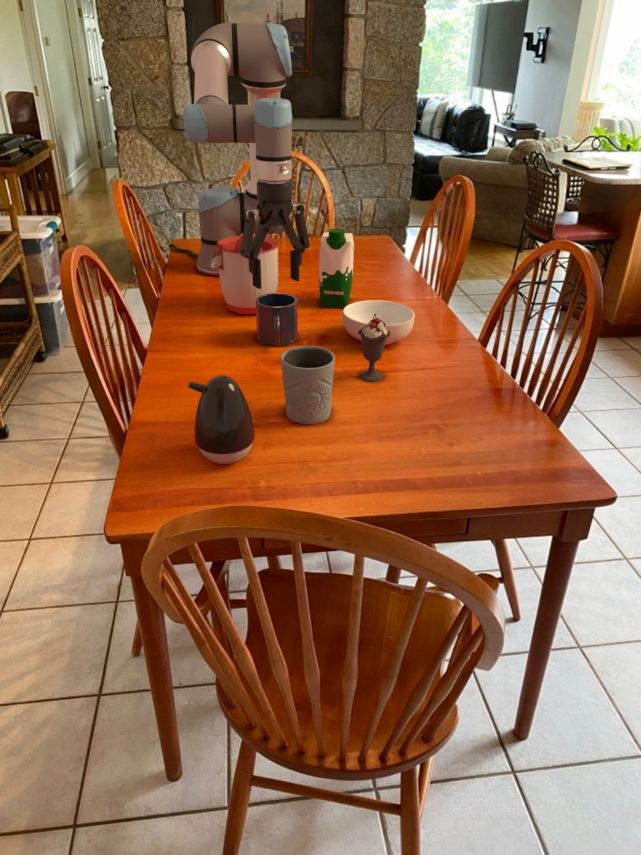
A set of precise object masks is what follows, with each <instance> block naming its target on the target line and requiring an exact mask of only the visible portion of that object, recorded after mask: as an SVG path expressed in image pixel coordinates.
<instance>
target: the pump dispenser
mask: <svg viewBox="0 0 641 855" xmlns="http://www.w3.org/2000/svg"><path fill="white" fill-rule="evenodd" d="M187 385H188V388H189V389H191V390H193V391H196V392H199V393H200V397H199V400H198V403H197V406H196V410H195V416H194V417H195V418H194V428H193V429H194V430H193V432H194V433H193V436H194V442H195V445H196V446H197V447H198V450H199V452H201V454H202V456H203V457H205V458H206V459H207V460H208V461H210V462H212V463H214V464H219V465H220V464H221V465H223V464H224V465H227V464H233V463H236V462H238V461H240V460H242V459H243V458H245V457H246V456H247V454H248V453H249V452H250V450H251V448H252V446H253V443H254V441H255V438H256V432H255V430H256V429H255V425H254V420H253V415H252V411H251V408H250V405H249V403H248V400H247V398H246V396H245V394H244V392H243V390H242V389H241V387H240V385H239V384H238V383H237V382H236V381H235V380H234V378H232V377H230V376H228V375H224V374H220V375H215V376H213V377H211V378H210V379H209V380H208V381H207V383H206V384H202V383H198V382H194V381H189V383H188V384H187Z"/></svg>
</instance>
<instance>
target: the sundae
mask: <svg viewBox="0 0 641 855" xmlns="http://www.w3.org/2000/svg"><path fill="white" fill-rule="evenodd" d="M374 316H376V313H375V314H374ZM373 318H374V317H373ZM358 334H359V335H361V340H362V341H361V340H360V341H361V349H362V350H361V351H362V357H363V358H364V359H365V360H366V361H368V369H367V370H364V371H361V372H360V374H359V377H360V379H362V380H364V381H366V382H377V381H380V380H382V379H383V377H384V376H383V373H381V372H380V371H377V370H376V368H375V365H376V362H377V361H379V360H381V359H382V357H383V353H384V350H385V346H386V345H385V341H386V338H388V337H390V332H389V330H388V329H386V328H385V323H384V322H383V321H381V320H380V319H379V318H376V317H375V319H372V320H371V321H370V322H369V323H368V325H367V326H366V327H363V328H361V329H360V330H359V331H358Z"/></svg>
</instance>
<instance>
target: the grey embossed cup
mask: <svg viewBox="0 0 641 855" xmlns="http://www.w3.org/2000/svg"><path fill="white" fill-rule="evenodd" d="M335 363H336V356H335V354H334V353H333V351H331V350H329V349H328V348H325V347H321V346H315V345H301V346H295V347H291V348H288V349H286V350H285V351H283V352H282V353H281V355H280V365H281V366H280V367H281V374H282V383H283V390H284V402H285V412H286V416H287V418H288V419H289V420H291V422H294V423H297V424H302V425H317V424H321V423H323V422H325V421H327V420H328V419H329V417H330V416H331V413H332V396H333V385H334V384H333V383H334V376H335V375H334V374H335V366H336V364H335Z"/></svg>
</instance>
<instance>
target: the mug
mask: <svg viewBox="0 0 641 855" xmlns="http://www.w3.org/2000/svg"><path fill="white" fill-rule="evenodd" d="M255 318H256V338H257V341H258V342H259V343H260V344H262V345H265V346H270V347H284V346H285V347H286V346H290V345H292V344H294V343H295V342H296V341H297V340H298V298H297V297H296V296H295V295H292V294H289V293H283V292H277V293H269V294H264V295H261V296H259V297H258V298H256V314H255Z"/></svg>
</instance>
